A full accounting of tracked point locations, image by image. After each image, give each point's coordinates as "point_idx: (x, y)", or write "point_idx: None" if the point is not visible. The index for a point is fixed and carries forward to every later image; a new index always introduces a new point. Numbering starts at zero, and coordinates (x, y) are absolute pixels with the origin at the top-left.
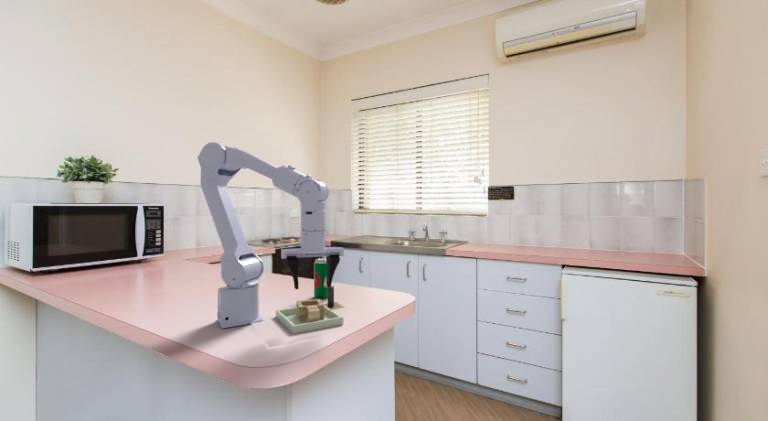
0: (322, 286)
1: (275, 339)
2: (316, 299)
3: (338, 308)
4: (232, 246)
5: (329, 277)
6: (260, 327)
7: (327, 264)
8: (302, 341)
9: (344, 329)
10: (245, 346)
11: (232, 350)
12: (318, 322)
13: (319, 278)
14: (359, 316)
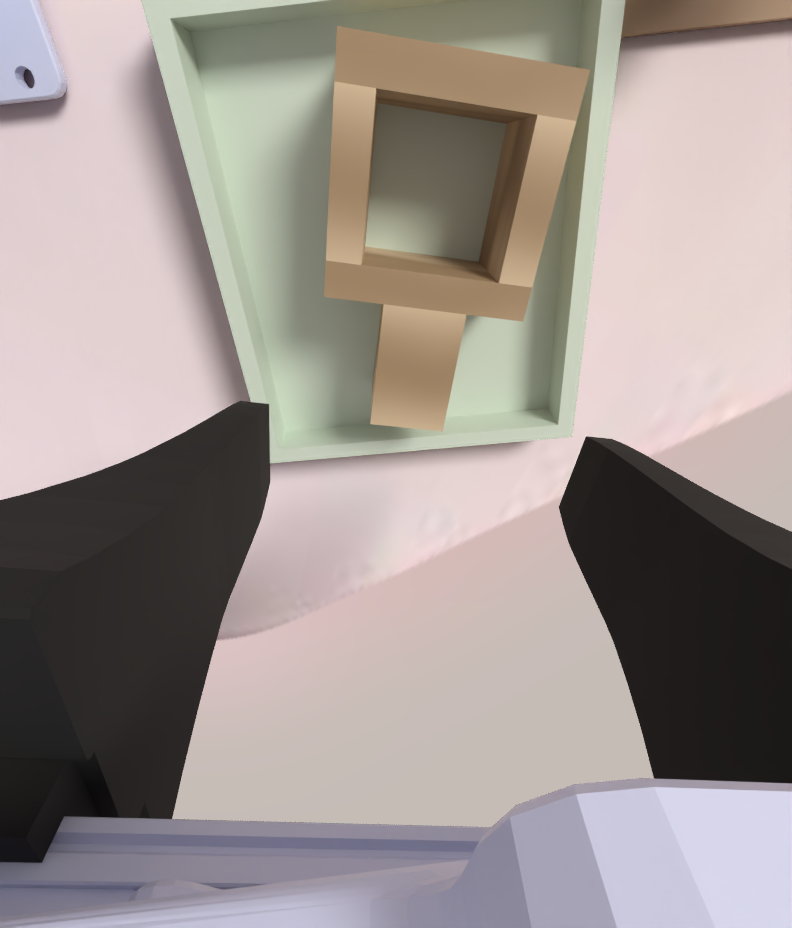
0: None
1: None
2: (550, 70)
3: (753, 20)
4: None
5: (595, 596)
6: (74, 220)
7: (737, 614)
8: (308, 515)
9: (532, 462)
10: (58, 475)
11: (11, 493)
12: (412, 450)
13: None
14: (741, 297)
